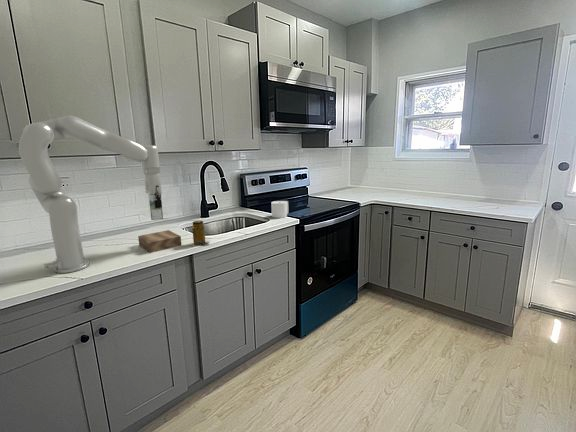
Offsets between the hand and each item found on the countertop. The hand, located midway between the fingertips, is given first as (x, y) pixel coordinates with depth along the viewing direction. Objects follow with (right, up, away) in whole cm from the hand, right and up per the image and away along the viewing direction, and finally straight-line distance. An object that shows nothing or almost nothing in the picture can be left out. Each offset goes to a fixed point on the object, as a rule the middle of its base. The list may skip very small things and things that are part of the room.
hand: (155, 206), depth 161 cm
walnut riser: (0, -20, +5) cm, 21 cm away
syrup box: (0, -6, +1) cm, 6 cm away
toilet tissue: (+61, -5, +65) cm, 89 cm away
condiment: (+21, -20, +7) cm, 29 cm away
